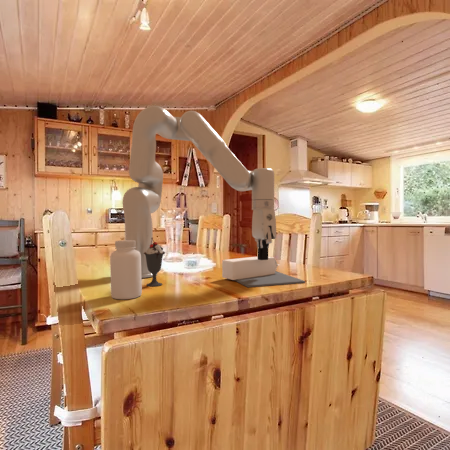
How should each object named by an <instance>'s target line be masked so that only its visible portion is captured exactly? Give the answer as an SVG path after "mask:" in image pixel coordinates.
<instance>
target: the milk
mask: <svg viewBox="0 0 450 450" xmlns="http://www.w3.org/2000/svg"><path fill="white" fill-rule="evenodd" d="M221 265H222V266H221V267H222V271H221V272H222V276H221V277H222V278H224V279H227V280H232V281H234V280H237V279H243V278H250V277H257V276H264V275H271V274H275V272H276V271H277V268H278V266H280V264H278V262H277V259H276V258H275V257H274V256H272V257H271V256H268V260H258V255H257V256H250V257H249V256H248V257H240V258H239V257H237V258H230V259H222V263H221Z"/></svg>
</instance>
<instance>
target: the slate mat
mask: <svg viewBox="0 0 450 450" xmlns="http://www.w3.org/2000/svg"><path fill="white" fill-rule="evenodd" d="M233 281H235V282H236V283H238V284H241V286H244V287H246V288H257V287H269V286H270V287H272V286H282V285H284V284H285V285H295V284H296V283H298V284H305V283H306V280H304V279H300V278H298V277H296V276H295V277H294V276H291V275H288V274H285V273H282V272H280V271H277V270H276V272H275V274H271V275H264V276H257V277H250V278H243V279H237V280H233Z"/></svg>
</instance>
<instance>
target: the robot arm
mask: <svg viewBox="0 0 450 450" xmlns="http://www.w3.org/2000/svg"><path fill="white" fill-rule="evenodd" d="M131 134H132V136H131V138H132V139H131V147H130V154H129V155H130V157H129V164H128V166H129V168H128V174H129V177H130V179H131V180H132V181H133V182H135V183H138V184H137V185H138V186H134V187H131V188H129V189H127V190H126V192H125V193H124V195H123V196H122V209H123V215H124V236H125V237H124V238H125V239H124V240H135V241H136V246H135V247H136V248H135V250H137V251H139V252H140V254H141V279H145V278H146V279H147V278H151V277H152V278H153V275H152V273H150V272H149V271H148V268H147V262H146V256H145V254H144V252H147V250H148V248H149V247H150V245H151V240H152V239H151V238H152V237H153V231H154V230H153V219H152V214H154V213H156V212H157V210H158V209H159V208H160V206H161V202H162V195H163V194H162V193H163V182H164V171H163V169H162V167H161V165H160V164H159V163H158V162H157V161H156V151H157V140H156V136H157V135H159V136H160V137H161V138H163V139H167V140H175V141H177V140H178V141H186V142H189V141H190V142H191V143H192V144H193V145H194V147H195V148H197V150H198V151H199V152H200V153H201V154H202V156H203V157H204V158H205V160H206V161H207V162H209V163H210V165H212V167H214V169H215V170H216V171H217V173H219V175H220V176H221V177H222V178H223V179H224V181H225V182H226V183H227V184H228V185H229V186H230V187H231V188H232V189H234V190H235V191H238V192H246V191H251V211H252V217H251V218H252V219H251V220H252V221H251V236H252V237H253V238H254V241H255V242H256V246H257V256H258V260H268V257H269V247H270V244H272V243H273V240H275V239H276V238H277V218H276V212H275V171H274V169H272V168H268V167H267V168H265V167H259V168H255V169H253V170H248V169H247V168H246V166H244V165H243V164H242V163H243V162H241V161H240V160H239V159H238V158H237V156H236V155H235V154H234V153H233V152H232V150H231V149H230V148H229V147H228V146H227V143H226V141H224V139H223V138H222V137H221V136H220V135H219V134H218V132H217V131H216V130H215V129H214V128H213V127H212V126H211V125H210V123H209V122H208V121H207V120H206V119H205V118H204V117H203V115H202V114H201V113H200V112H197V111H196V110H188V111H185V112H184V113H183V114H182V115H181V116H173V115H172V114H171V113H170V112H169V111H168V110H167V109H166V108H164V107H162V106H159V105H150V106H146V107H145V108H144V109H142V110H141V111H139V113H138V114H137V115H136V118H135V119H134V122H133V125H132V133H131ZM153 238H154V237H153ZM153 243H154V239H153V240H152V244H153ZM156 276H158V273H157V274H156Z"/></svg>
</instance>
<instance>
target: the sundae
mask: <svg viewBox="0 0 450 450" xmlns="http://www.w3.org/2000/svg"><path fill="white" fill-rule="evenodd" d="M151 239H152V240H153V244H152V240H151V245H150V247H149V248H148V250H147V252H144V254H145V256H146V262H147V268H148V271H149V272H150V273H152V275H153V277H152V280H151V282H148V283H146V286H147V287H151V288H152V287H155V288H157V287H160V286H163V283H161V282H158V280H157V275H158V273H159V272H160V271H161V268H162V263H163V257H164V255H166V254H165V253H166V252H165V251H164V247H162V246H161V245H159V244H158V242H155V241H154V237H152V238H151ZM156 274H157V275H156Z"/></svg>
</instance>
